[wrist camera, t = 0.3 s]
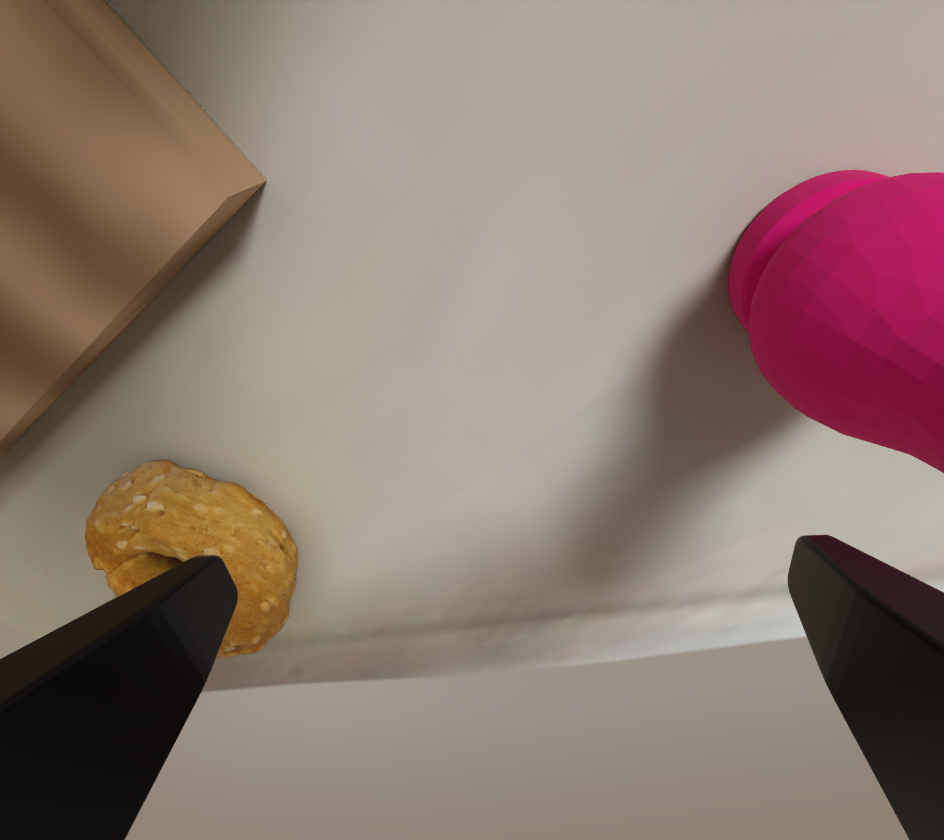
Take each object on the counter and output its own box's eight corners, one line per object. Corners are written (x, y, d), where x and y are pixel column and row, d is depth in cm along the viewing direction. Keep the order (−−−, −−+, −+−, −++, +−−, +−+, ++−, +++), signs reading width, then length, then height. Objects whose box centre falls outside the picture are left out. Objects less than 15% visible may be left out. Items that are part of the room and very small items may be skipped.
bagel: (231, 426, 26) (177, 492, 22) (344, 587, 31) (316, 664, 27) (70, 479, 29) (-5, 547, 25) (199, 619, 34) (154, 694, 30)
